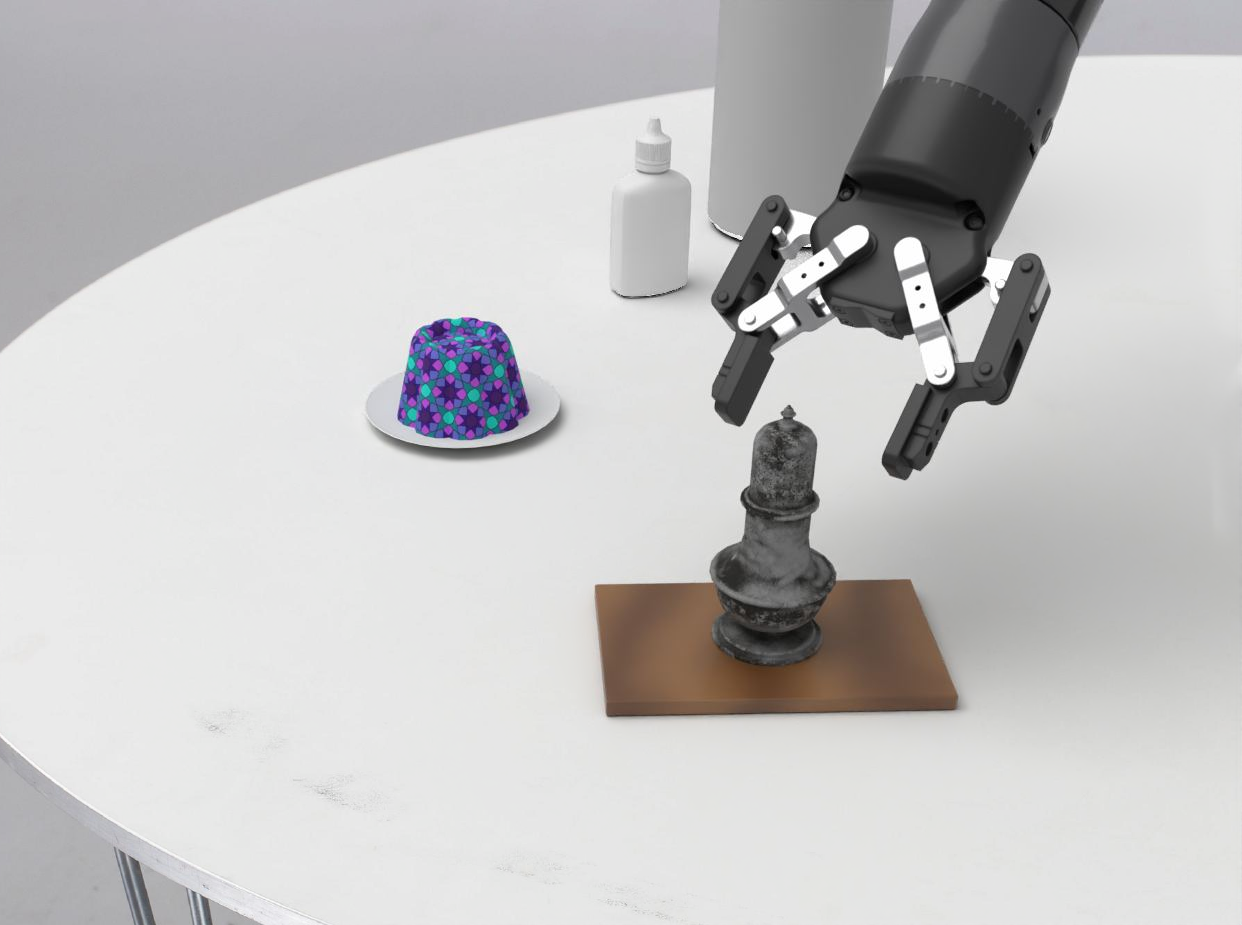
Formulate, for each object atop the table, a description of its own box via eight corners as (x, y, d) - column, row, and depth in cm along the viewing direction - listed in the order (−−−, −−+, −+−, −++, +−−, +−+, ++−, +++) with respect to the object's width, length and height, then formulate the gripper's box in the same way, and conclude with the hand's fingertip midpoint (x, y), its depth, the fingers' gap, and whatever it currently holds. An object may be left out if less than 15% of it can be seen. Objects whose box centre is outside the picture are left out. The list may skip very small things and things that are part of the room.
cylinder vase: (690, 241, 118) (709, -122, 104) (726, 191, 128) (748, -148, 113) (851, 259, 115) (895, -112, 100) (876, 206, 125) (920, -140, 110)
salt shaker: (848, 624, 74) (880, 396, 67) (795, 684, 70) (822, 448, 63) (740, 588, 77) (759, 365, 70) (682, 644, 73) (696, 413, 66)
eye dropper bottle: (610, 275, 113) (614, 107, 106) (686, 277, 112) (695, 108, 105) (607, 298, 109) (611, 126, 102) (686, 300, 109) (696, 127, 102)
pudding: (345, 388, 97) (338, 309, 94) (524, 361, 101) (523, 284, 98) (392, 473, 88) (387, 389, 85) (588, 441, 91) (589, 359, 88)
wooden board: (908, 591, 78) (910, 578, 78) (956, 710, 70) (958, 695, 70) (594, 597, 78) (594, 583, 77) (606, 716, 70) (606, 702, 69)
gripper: (797, 47, 69) (643, 369, 69) (1103, 98, 62) (934, 459, 62) (843, 138, 76) (703, 434, 75) (1125, 194, 68) (972, 521, 68)
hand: (807, 444), depth 68 cm, fingers open, 8 cm apart
